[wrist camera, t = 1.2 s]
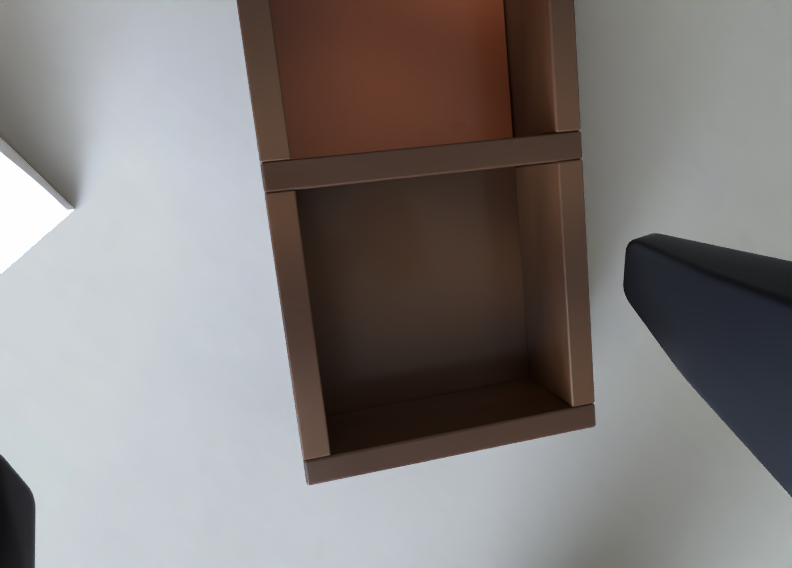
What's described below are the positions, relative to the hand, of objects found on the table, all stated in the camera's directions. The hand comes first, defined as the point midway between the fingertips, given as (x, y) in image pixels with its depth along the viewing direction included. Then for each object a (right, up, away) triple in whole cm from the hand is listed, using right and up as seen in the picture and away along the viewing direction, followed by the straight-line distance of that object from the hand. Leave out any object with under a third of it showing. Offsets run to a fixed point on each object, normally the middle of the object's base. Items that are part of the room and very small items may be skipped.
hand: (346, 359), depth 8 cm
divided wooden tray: (+1, +5, +14) cm, 15 cm away
